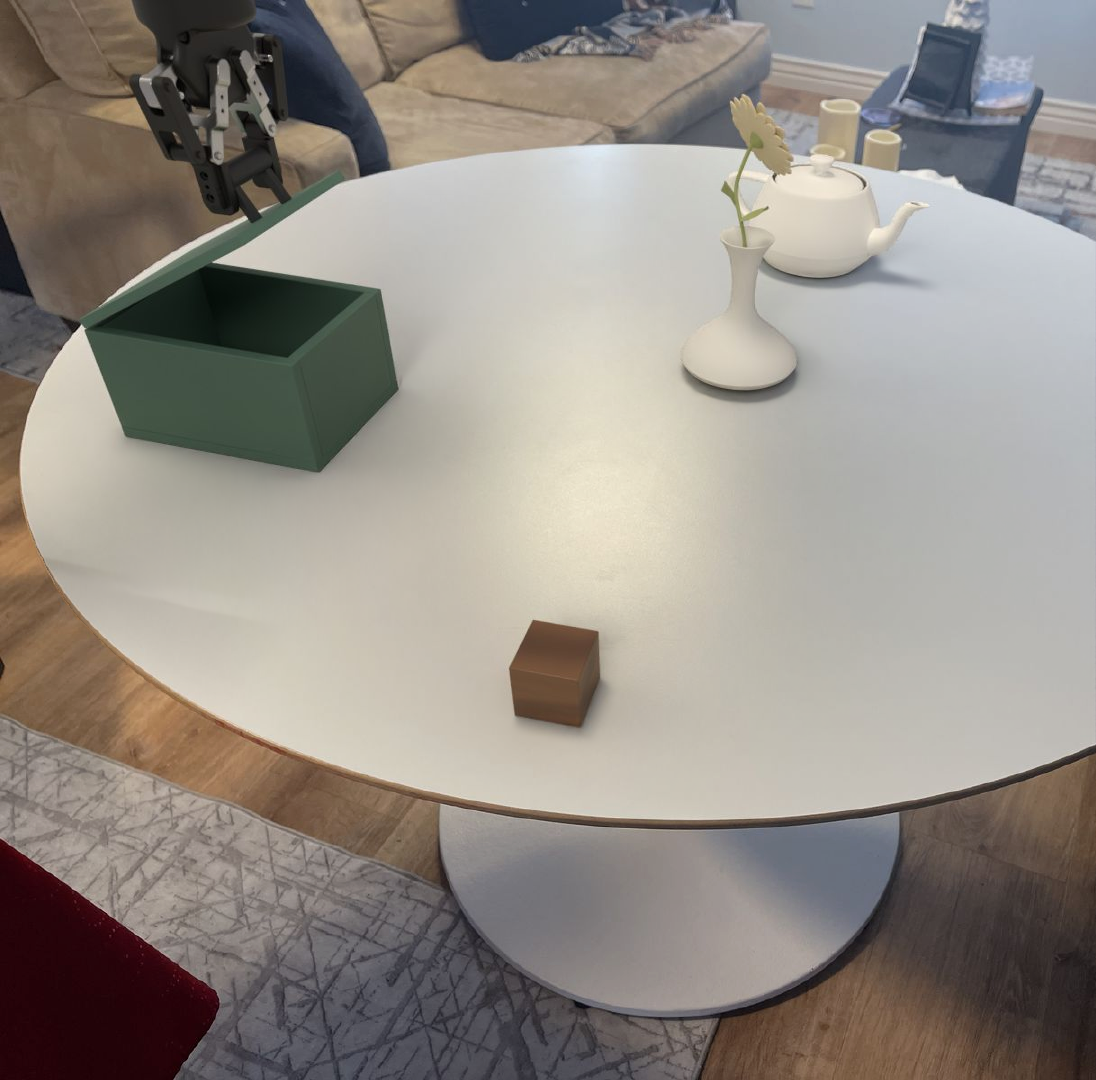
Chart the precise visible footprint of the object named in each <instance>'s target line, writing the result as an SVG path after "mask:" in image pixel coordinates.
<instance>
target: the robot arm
mask: <svg viewBox="0 0 1096 1080" xmlns="http://www.w3.org/2000/svg"><path fill="white" fill-rule="evenodd" d="M131 3H132V7H133V11H134V13H135V17H136V19H137V20H138V22H139V23H140V24H141V25H143V26H144V27H146V28H147V29H148V30H149V31H150V32H151V33H152V35H153V37H154V39H155V44H156V45H155V46H156V64H157V65H156V66H155V67H153V68H152V69H151V70H150V71H149V72H147V73H146V74H145V73H144V74H140V73H132V74H131V75H130V76H129V79H128V84H129V87H130V89H131V92H132V94H133V96H134V97H135V100H136V102H137V104H138V106H139V108H140V110H141V112H142V114H143V116H144V118H145V120H146V122H147V124H148V126H149V128H150V130H151V133H152V134H153V136H154V138H155V140H156V142H157V144H158V146H159V148H160V150H161V153H162V154H163V156H164V158H165V159H166V160H167V161H172V162H184V163H189V164H190V165H191V166H192V169H193V171H194V176H195V179H196V182H197V186H198V188H199V192H200V194H201V199H202V202H203V204H204V205H205V207H206V208H207V210H208V211H209V212H210V213H212V214H214V215H221V216H229V217H232V216H233V215H235V214H237V213H238V212H240V207H239V204H238V200H237V197H236V193H235V189H234V186H233V182H232V178H231V175H230V171H229V167H228V164H227V161H224V160H225V148H224V147H225V146H224V132H225V131H227V130H228V128H229V126H230V116H229V113H230V114H231V116H232V118H233V120H234V121H235V124H236V125H237V127H238V130H239V131H240V132H241V134H244V136H243V137H241V143H242V146H243V149H244V150H243V151H244V152H245V151H247V150H249V149H251V148H253V147H255V146H260V147H262V148H264V149H266V150H267V151H268V153H269V154H270V156H271V158H272V166H271V169H272V170H273V172H274V173H275V175H276V176H277V178H278V179H279V181H280V182H281V183H282V185H283V186H284V179H283V176H282V175H283V174H282V165H281V162H280V157H279V153H278V148H277V145H276V141H275V137H276V136H277V133H278V126H277V125H278V124H279V123H280V122H286V121H287V120H288V118H289V105H288V97H287V85H286V76H285V68H284V67H285V66H284V58H283V57H284V56H283V47H282V41H281V38H280V37H279V36H278V35H277V34H271V33H259V32H251V30H250V29H249V27H248V24H250V23H251V22H252V21H254V20H255V18H256V17H257V7H256V3H255V0H131ZM264 85H265V86H268V87H269V88H270V93H271V102H270V98H269V96H268V94H267V91H266V89H265V88H264ZM193 108H195V110H200V111H201V110H202V111H209V113H208V114H206V115H199V114H195V113H194V111H193ZM201 128H203V129H204V130H205V144H206V145H205V144H203V143H202V141H201V139H200V133H199V132H200V131H199V130H200V129H201ZM175 134H176V135H177V137H178V138H179V140H180V142H178V141H177V138H176V136H175ZM251 181H252V182H253V184H254V186H256V187H257V188H260V189H261V188H262V189H270V187H269V186H268V185H267V183H266V182H265V180H264V179H263V177H262V176H261V175H258V176H256V177H255V178H253V179H251ZM270 190H271V189H270Z"/></svg>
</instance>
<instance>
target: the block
mask: <svg viewBox="0 0 1096 1080" xmlns="http://www.w3.org/2000/svg"><path fill="white" fill-rule="evenodd" d="M599 633H600V632H599V631H598V630H594V629H589V628H583V627H578V626H572V625H565V624H561V623H554V622H549V621H544V620H536V619H532V620H531V622H530V624H529V626H528V628H527V630H526V633H525V635H524V637H523V639H522V641H521V643H520V645H519V647H518V649H517V651H516V653H515V655H514V657H513V659H512V661H511V663H510V665H509V667H508V672H509V673H508V674H509V681H510V688H511V697H512V706H513V712H514V713H513V714H514V716H516V717H520V718H527V719H532V720H536V721H537V720H538V721H543V722H547V723H553V724H559V725H564V726H569V727H573V728H580V729H581V728H582V726H583V723H584V721H585V718H586V716H587V713H588V710H589V708H590V705H591V703H592V701H593V697H594V695H595V693H596V691H597V687H598V686H599V683H600V680H601V664H600V663H601V662H600V661H601V657H600V635H599Z"/></svg>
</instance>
